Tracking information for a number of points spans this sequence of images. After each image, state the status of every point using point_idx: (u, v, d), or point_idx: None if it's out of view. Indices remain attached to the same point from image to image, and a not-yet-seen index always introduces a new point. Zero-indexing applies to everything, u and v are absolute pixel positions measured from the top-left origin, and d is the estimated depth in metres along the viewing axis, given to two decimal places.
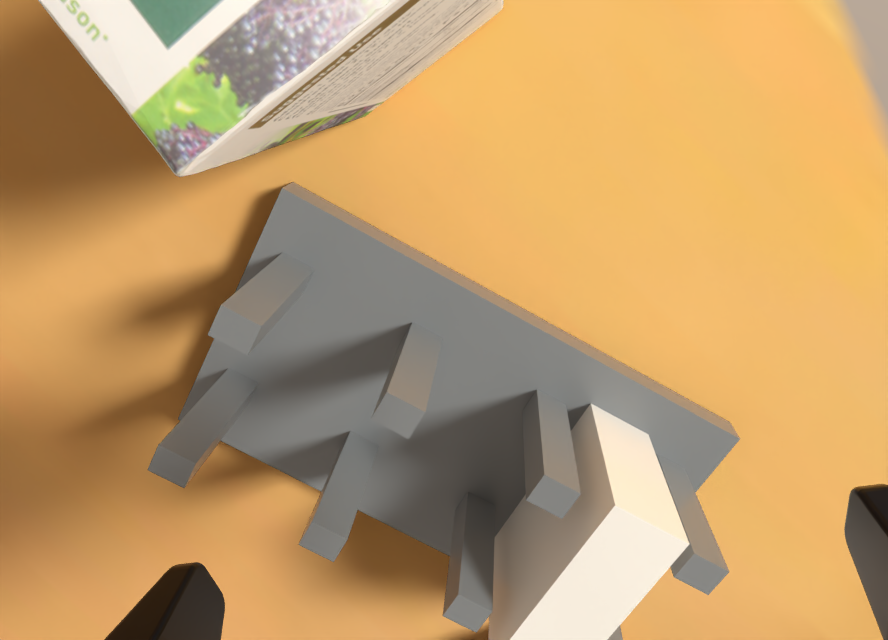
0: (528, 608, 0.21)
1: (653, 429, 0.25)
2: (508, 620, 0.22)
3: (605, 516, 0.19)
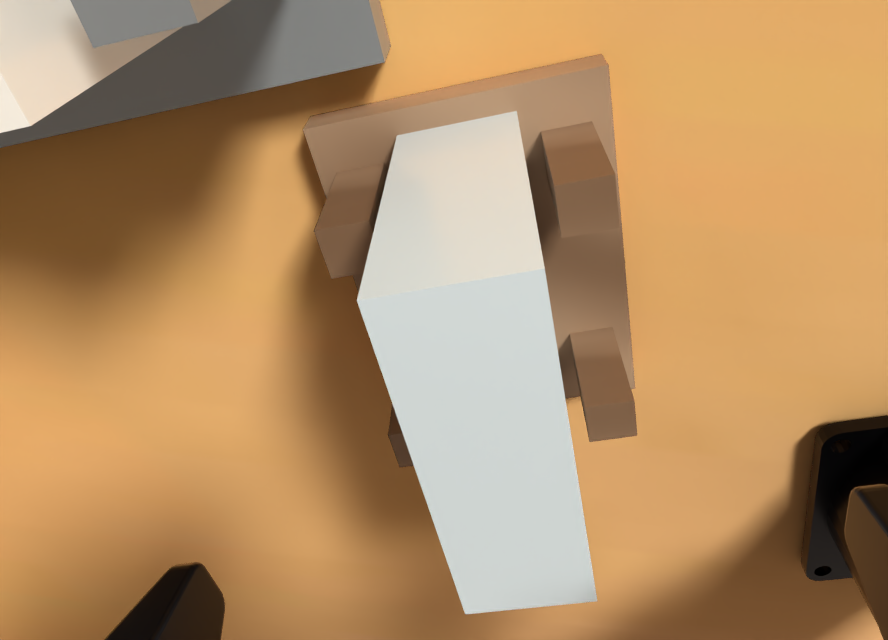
0: None
1: None
2: None
3: None
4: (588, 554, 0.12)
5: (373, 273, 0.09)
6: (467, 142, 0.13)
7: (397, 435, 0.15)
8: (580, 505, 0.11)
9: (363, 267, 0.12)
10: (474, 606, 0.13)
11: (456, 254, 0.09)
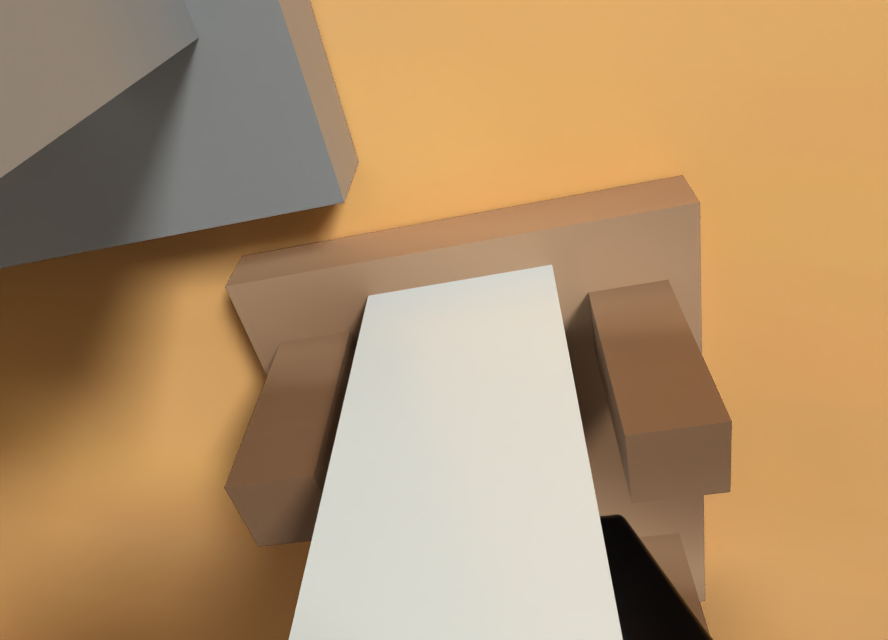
0: None
1: None
2: None
3: None
4: None
5: None
6: (476, 329, 0.08)
7: None
8: None
9: (308, 532, 0.08)
10: None
11: None
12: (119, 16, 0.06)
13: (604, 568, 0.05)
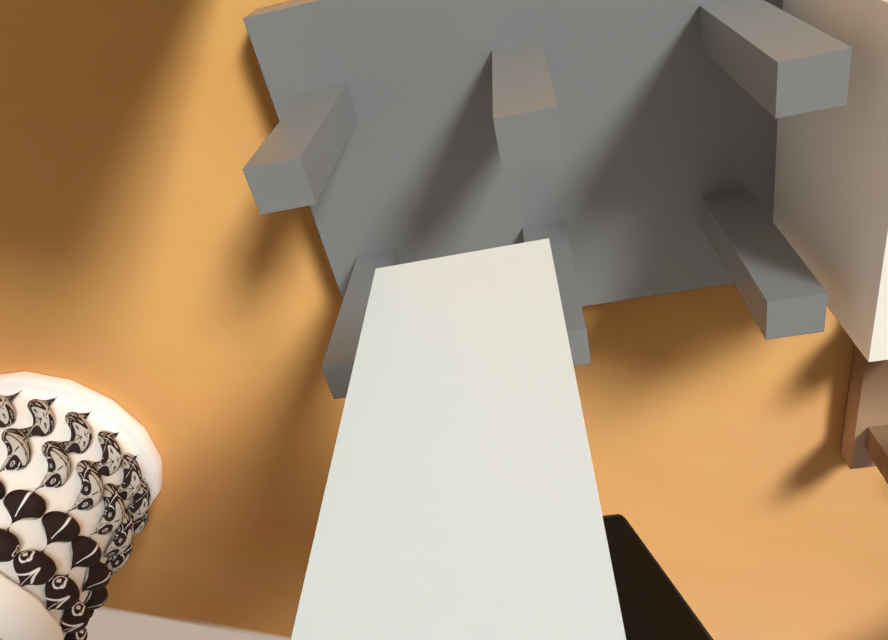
0: (876, 256, 0.14)
1: None
2: (857, 291, 0.15)
3: None
4: None
5: (310, 633, 0.05)
6: (478, 296, 0.08)
7: None
8: None
9: None
10: None
11: (460, 605, 0.05)
12: None
13: (593, 494, 0.06)
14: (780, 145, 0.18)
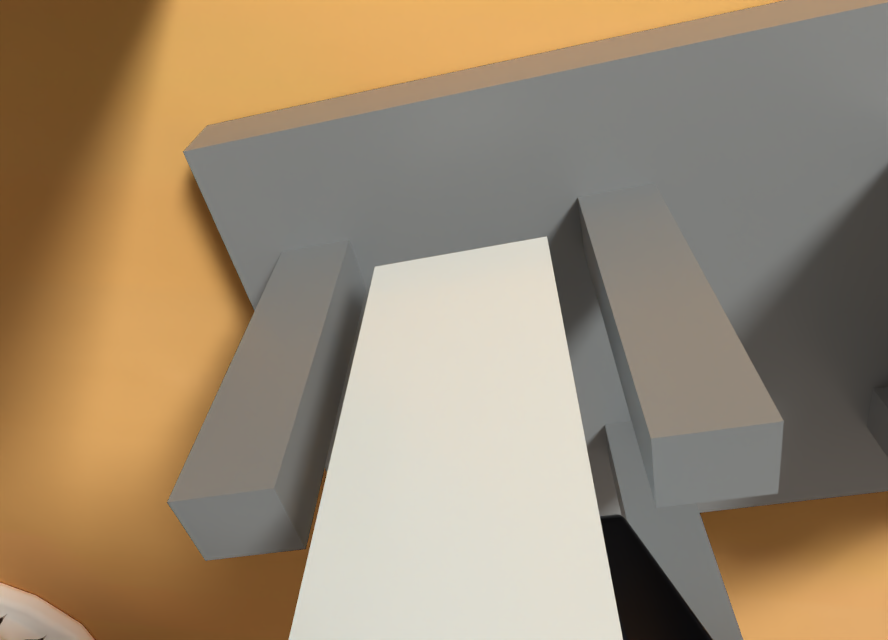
0: None
1: None
2: None
3: None
4: None
5: (310, 624, 0.05)
6: (475, 293, 0.08)
7: None
8: None
9: None
10: None
11: (458, 596, 0.05)
12: None
13: (589, 488, 0.06)
14: None
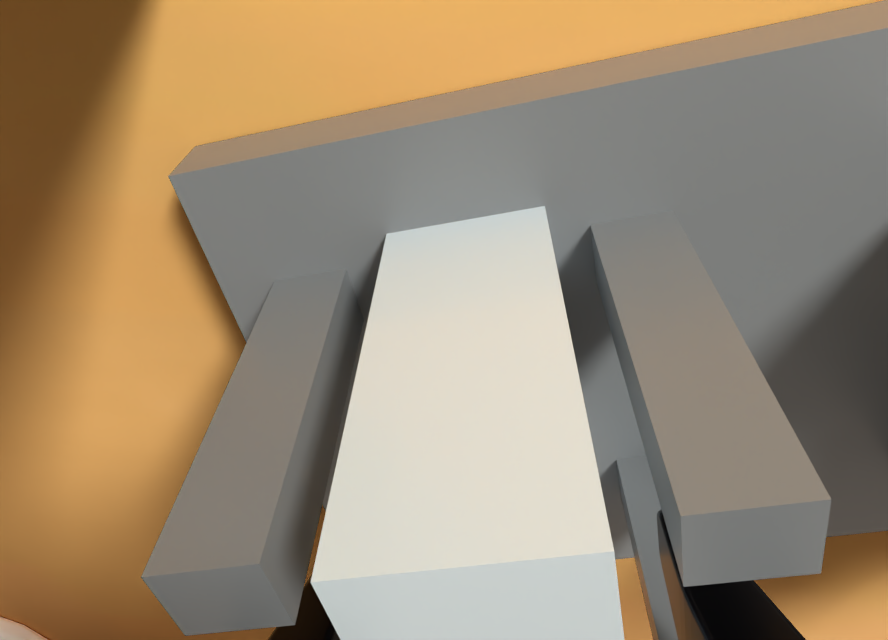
0: None
1: None
2: None
3: None
4: None
5: (340, 518, 0.06)
6: (479, 254, 0.09)
7: None
8: None
9: None
10: None
11: (468, 493, 0.06)
12: None
13: (581, 407, 0.06)
14: None
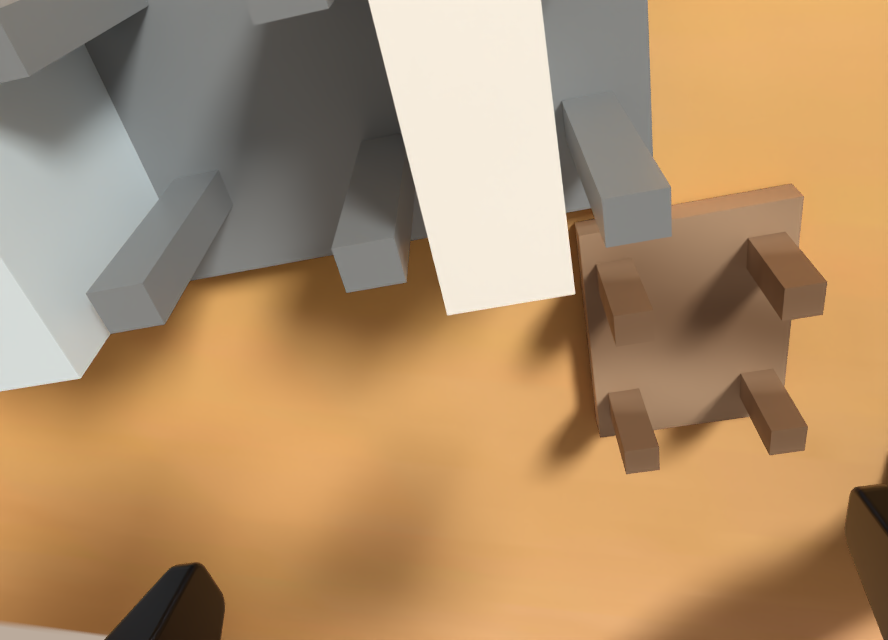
0: (418, 191, 0.12)
1: None
2: None
3: None
4: (45, 326, 0.13)
5: None
6: None
7: (631, 451, 0.20)
8: (8, 271, 0.12)
9: (640, 339, 0.18)
10: None
11: None
12: None
13: None
14: None
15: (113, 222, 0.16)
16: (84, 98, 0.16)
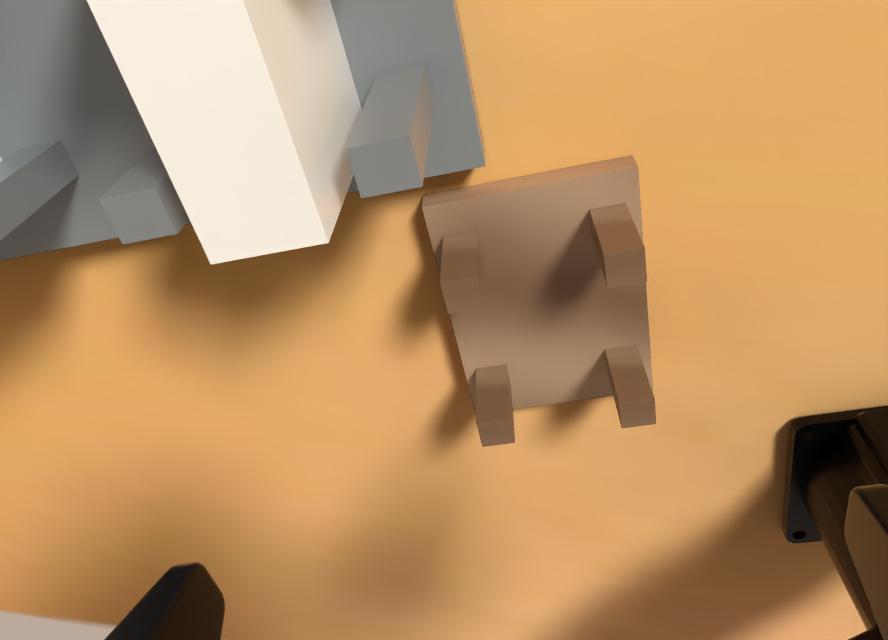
0: (160, 139, 0.12)
1: None
2: None
3: None
4: None
5: None
6: None
7: (483, 423, 0.21)
8: None
9: (470, 306, 0.18)
10: None
11: None
12: (428, 97, 0.16)
13: None
14: None
15: None
16: None
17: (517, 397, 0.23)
